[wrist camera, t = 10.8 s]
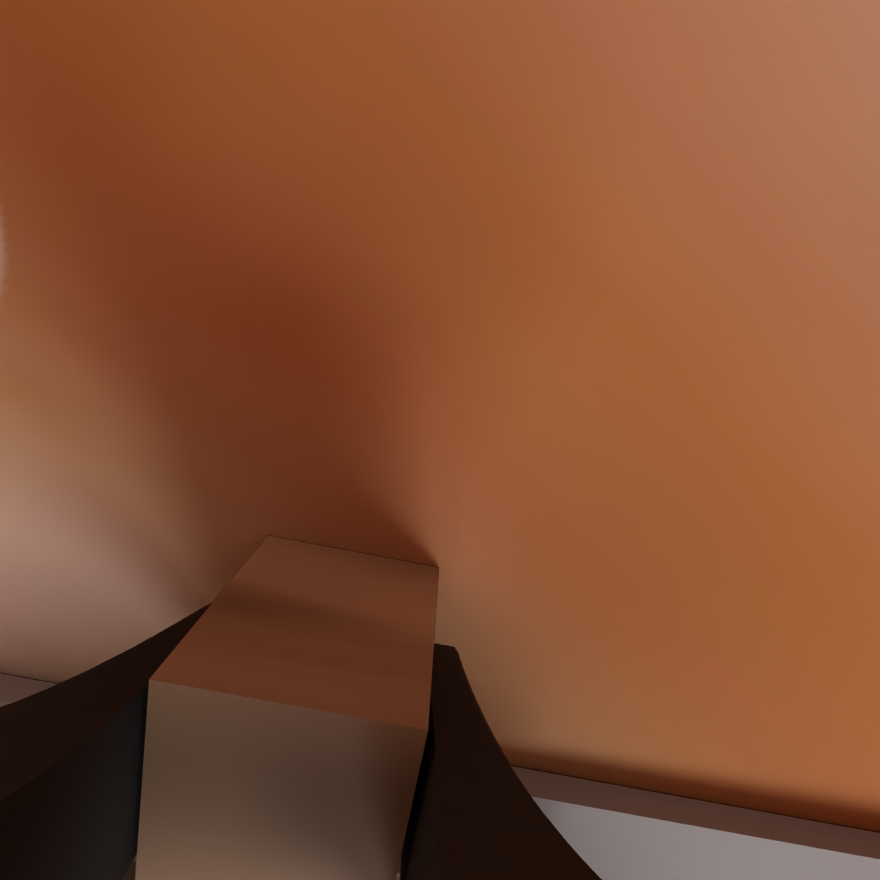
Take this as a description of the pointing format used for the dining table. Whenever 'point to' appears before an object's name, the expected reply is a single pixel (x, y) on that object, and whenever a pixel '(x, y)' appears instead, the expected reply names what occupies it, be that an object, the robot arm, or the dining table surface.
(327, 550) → the block
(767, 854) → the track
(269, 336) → the dining table surface
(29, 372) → the dining table surface
